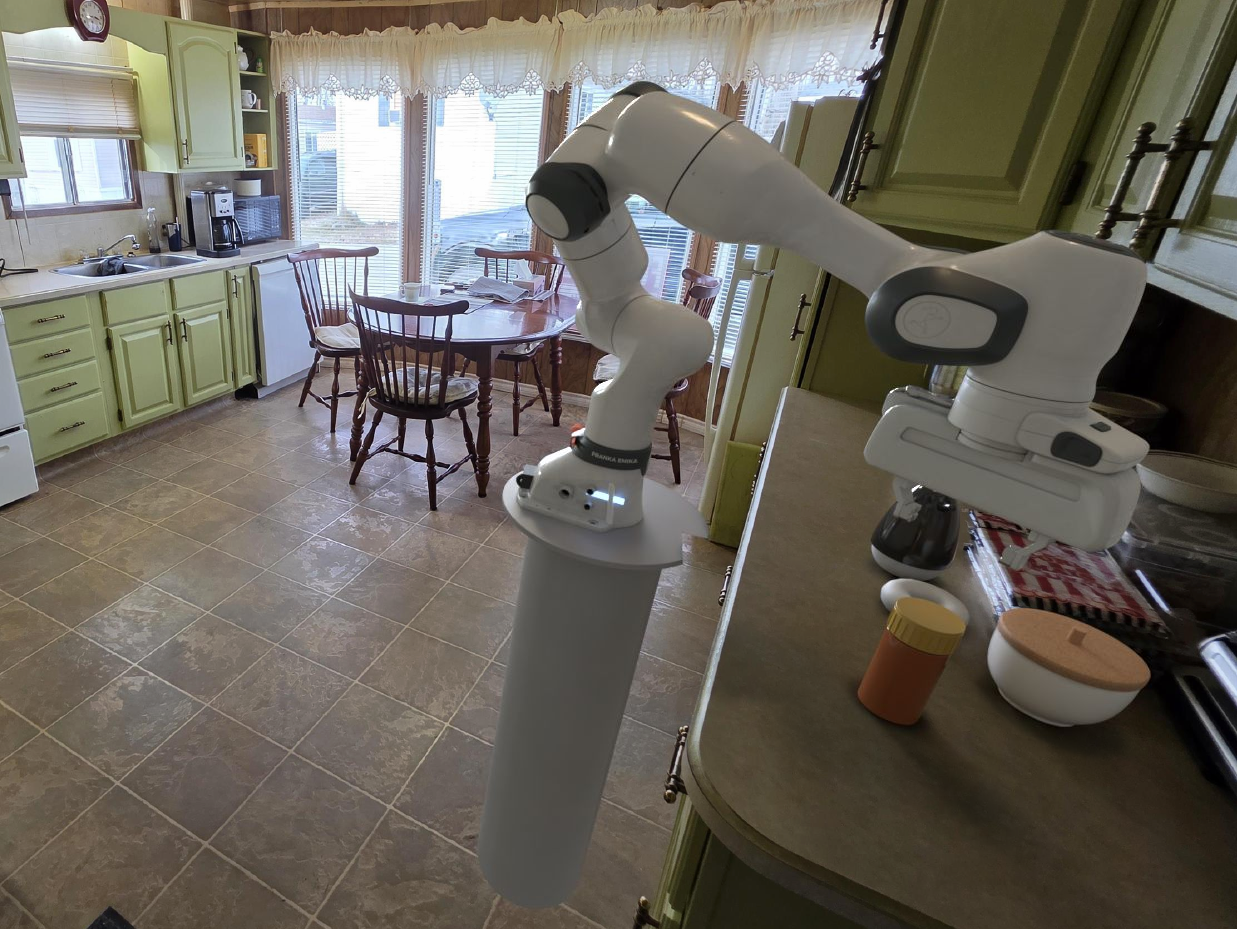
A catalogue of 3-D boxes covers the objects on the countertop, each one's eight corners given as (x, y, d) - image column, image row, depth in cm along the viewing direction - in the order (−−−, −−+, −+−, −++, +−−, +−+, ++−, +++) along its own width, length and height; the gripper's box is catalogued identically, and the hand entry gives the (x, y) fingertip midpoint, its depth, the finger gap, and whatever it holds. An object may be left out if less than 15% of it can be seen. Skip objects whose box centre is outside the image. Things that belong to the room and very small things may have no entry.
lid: (895, 645, 73) (905, 623, 72) (879, 611, 78) (888, 590, 77) (965, 662, 71) (976, 640, 70) (944, 626, 76) (954, 605, 75)
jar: (864, 714, 77) (904, 627, 72) (851, 679, 82) (888, 595, 77) (926, 731, 75) (972, 643, 70) (909, 694, 80) (951, 609, 75)
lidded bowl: (992, 652, 88) (1029, 582, 84) (1124, 718, 78) (1174, 644, 74) (952, 687, 82) (990, 614, 77) (1091, 764, 72) (1143, 686, 68)
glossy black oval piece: (877, 583, 101) (914, 494, 95) (853, 546, 110) (886, 464, 104) (955, 597, 99) (999, 507, 93) (924, 559, 108) (962, 475, 102)
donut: (953, 607, 97) (872, 584, 101) (964, 588, 95) (881, 565, 99) (971, 649, 89) (881, 622, 93) (982, 629, 87) (891, 602, 91)
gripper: (876, 382, 70) (833, 499, 75) (1147, 465, 53) (1066, 606, 59) (910, 376, 72) (866, 489, 78) (1177, 453, 56) (1097, 589, 62)
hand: (954, 540), depth 68 cm, fingers open, 8 cm apart
